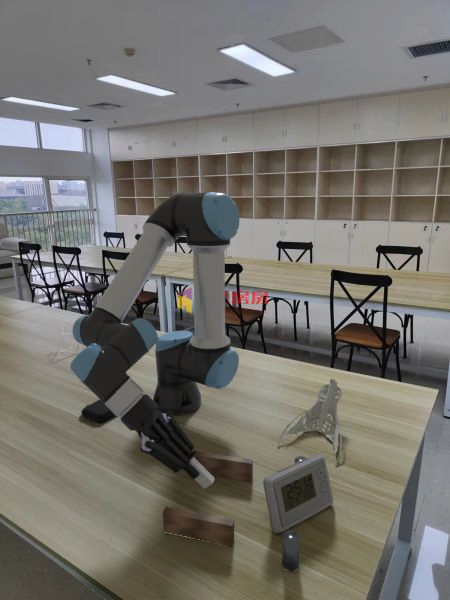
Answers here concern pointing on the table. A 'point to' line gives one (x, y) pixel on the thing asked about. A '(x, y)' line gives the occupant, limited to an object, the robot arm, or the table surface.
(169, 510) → the chute
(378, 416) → the table surface
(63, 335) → the geometric polyhedron
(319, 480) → the digital clock
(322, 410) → the skeletal model
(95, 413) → the carrying case or bag
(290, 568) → the posts
